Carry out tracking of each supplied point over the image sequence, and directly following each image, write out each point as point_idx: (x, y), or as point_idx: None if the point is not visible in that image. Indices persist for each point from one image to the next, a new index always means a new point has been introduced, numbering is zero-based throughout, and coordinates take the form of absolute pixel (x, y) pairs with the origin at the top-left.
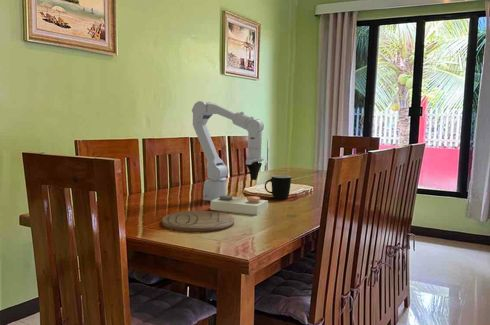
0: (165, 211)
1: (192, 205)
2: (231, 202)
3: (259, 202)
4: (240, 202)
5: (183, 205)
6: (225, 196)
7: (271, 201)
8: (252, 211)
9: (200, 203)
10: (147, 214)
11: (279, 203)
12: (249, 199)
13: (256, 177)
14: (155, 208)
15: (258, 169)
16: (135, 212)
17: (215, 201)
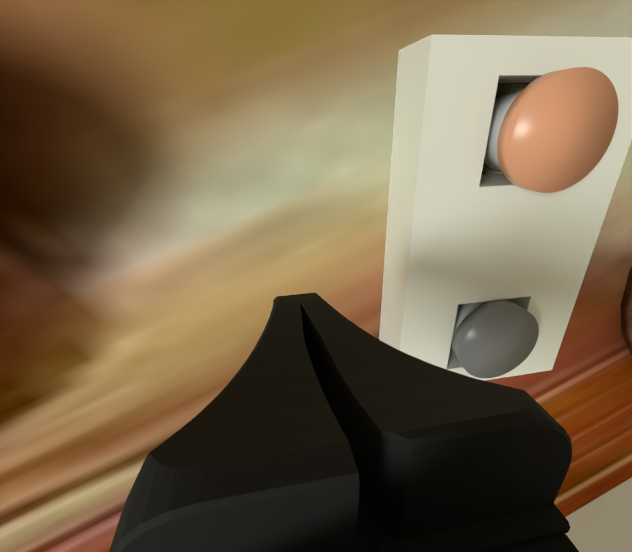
0: (580, 438)
1: None
2: (570, 263)
3: (488, 97)
4: (561, 214)
5: None
6: (502, 346)
7: (89, 137)
8: None
9: None
10: (628, 447)
11: (118, 26)
12: (599, 148)
13: (312, 302)
14: None
15: (312, 370)
16: (605, 482)
17: (559, 345)
